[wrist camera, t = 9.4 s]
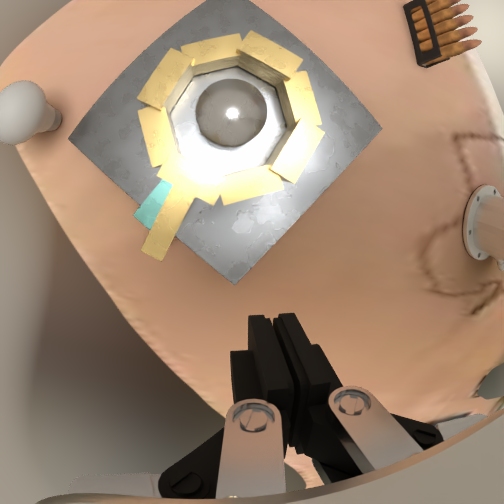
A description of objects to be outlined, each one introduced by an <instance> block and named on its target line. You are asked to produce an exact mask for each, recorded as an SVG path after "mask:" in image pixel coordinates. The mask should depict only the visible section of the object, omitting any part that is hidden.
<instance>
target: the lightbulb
mask: <svg viewBox="0 0 504 504" xmlns="http://www.w3.org/2000/svg"><path fill="white" fill-rule="evenodd" d="M60 123H61V113H60V112H59V111H58V110H56V109H54V108H53V107H52V106H51V105H49V104H48V103H47V100H46V97H45V94H44V92H43V90H42V89H41V88H40V87H39V86H38V85H37V84H36V83H34V82H31V81H18V82H14V83H12V84H10V85H9V86H7V87H6V88H4V89H3V90H2V91H1V92H0V141H1V142H2V143H5V144H8V145H17V144H20V143H23V142H25V141H27V140H28V139H30V138H31V137H32V136H33V135H35V134H36V133H38V132H45V131H54V130H55V129H57V128H58V126H59V125H60Z"/></svg>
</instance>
